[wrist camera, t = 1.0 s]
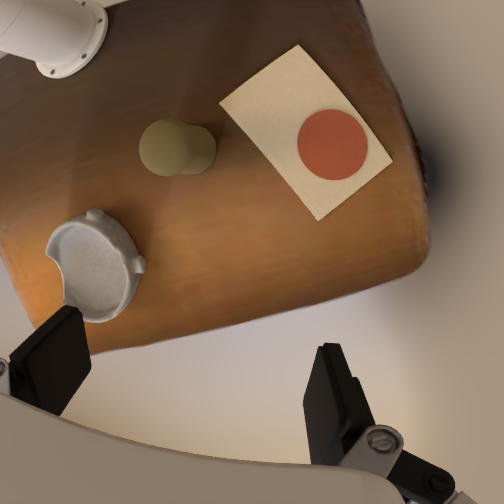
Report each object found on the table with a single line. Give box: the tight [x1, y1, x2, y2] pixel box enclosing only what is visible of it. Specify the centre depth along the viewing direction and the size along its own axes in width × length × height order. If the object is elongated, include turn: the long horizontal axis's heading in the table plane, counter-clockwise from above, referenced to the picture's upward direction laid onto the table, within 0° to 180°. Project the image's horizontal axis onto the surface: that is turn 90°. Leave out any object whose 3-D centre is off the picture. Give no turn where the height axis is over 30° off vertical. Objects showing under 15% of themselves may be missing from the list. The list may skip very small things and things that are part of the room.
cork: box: [139, 118, 217, 176], centre depth 29 cm, size 6×6×11 cm
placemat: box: [219, 45, 393, 221], centre depth 33 cm, size 18×12×1 cm, turn 40°
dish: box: [46, 208, 146, 323], centre depth 36 cm, size 14×14×5 cm
